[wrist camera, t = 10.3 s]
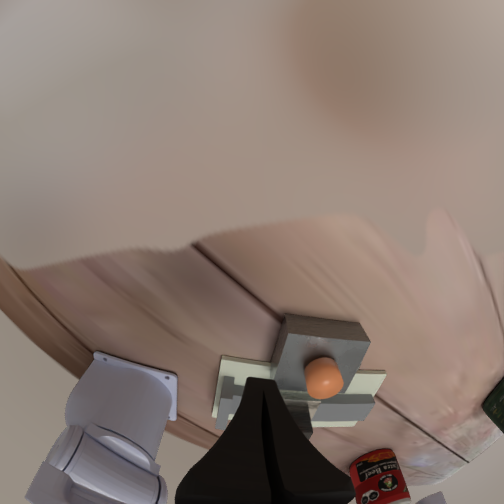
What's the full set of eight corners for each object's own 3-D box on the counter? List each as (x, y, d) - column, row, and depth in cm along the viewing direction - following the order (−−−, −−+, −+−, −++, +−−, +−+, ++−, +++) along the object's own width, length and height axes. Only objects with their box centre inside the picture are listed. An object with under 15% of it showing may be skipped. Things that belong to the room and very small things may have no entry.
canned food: (399, 442, 30) (420, 495, 19) (385, 465, 32) (400, 512, 22) (354, 454, 30) (369, 512, 20) (344, 474, 33) (355, 525, 22)
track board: (212, 413, 27) (208, 437, 23) (222, 355, 24) (217, 381, 21) (352, 422, 27) (359, 444, 24) (385, 370, 25) (396, 392, 21)
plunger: (299, 381, 21) (302, 398, 19) (309, 355, 20) (314, 372, 18) (330, 383, 21) (335, 399, 19) (342, 358, 20) (348, 374, 18)
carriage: (254, 417, 26) (254, 458, 20) (266, 380, 24) (268, 425, 19) (299, 420, 26) (304, 460, 21) (317, 384, 24) (327, 427, 19)
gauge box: (269, 366, 24) (270, 388, 22) (284, 313, 23) (288, 333, 20) (340, 372, 25) (347, 393, 22) (362, 323, 23) (373, 342, 20)
